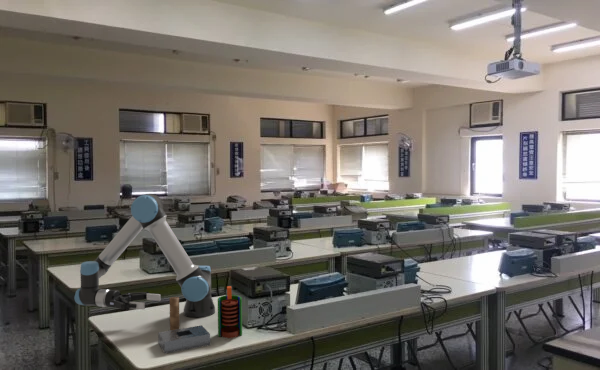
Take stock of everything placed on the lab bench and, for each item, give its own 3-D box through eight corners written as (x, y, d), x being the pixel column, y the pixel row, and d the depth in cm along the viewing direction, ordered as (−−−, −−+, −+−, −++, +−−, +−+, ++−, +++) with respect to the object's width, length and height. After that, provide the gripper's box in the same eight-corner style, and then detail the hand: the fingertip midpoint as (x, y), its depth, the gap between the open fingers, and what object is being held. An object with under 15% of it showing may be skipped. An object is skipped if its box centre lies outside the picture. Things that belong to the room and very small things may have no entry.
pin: (178, 330, 212) (177, 296, 211) (180, 332, 209) (180, 298, 208) (169, 331, 210) (168, 297, 210) (171, 334, 207) (170, 299, 206)
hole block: (201, 335, 205) (201, 325, 204) (210, 345, 194) (210, 334, 194) (158, 343, 196) (158, 332, 196) (164, 353, 186) (164, 342, 186)
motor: (220, 339, 200) (219, 291, 199) (215, 332, 208) (215, 286, 208) (244, 336, 204) (243, 289, 203) (238, 329, 212) (238, 284, 211)
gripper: (125, 299, 228) (166, 302, 223) (91, 315, 203) (136, 319, 199) (124, 283, 227) (166, 286, 223) (91, 297, 203) (136, 301, 199)
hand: (152, 301), depth 211 cm, fingers open, 13 cm apart
